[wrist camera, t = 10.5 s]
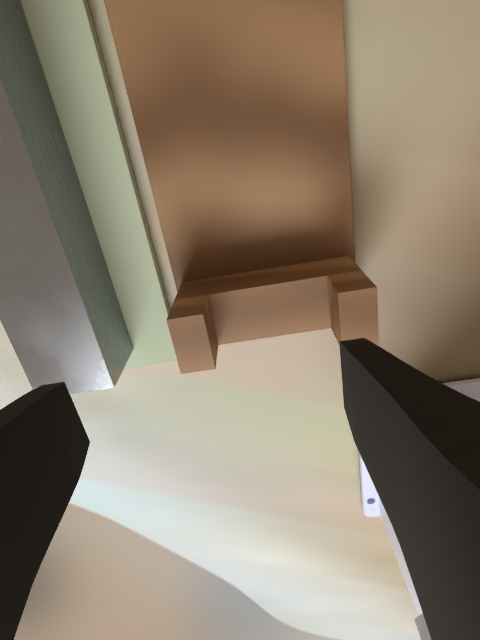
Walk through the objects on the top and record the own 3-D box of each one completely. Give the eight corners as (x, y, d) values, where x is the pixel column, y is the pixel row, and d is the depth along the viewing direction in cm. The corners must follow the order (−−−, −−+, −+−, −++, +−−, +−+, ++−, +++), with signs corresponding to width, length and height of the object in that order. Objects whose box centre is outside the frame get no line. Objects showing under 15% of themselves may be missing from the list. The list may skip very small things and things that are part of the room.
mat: (181, 354, 21) (180, 360, 21) (39, 375, 22) (34, 381, 21) (41, -172, 13) (32, -186, 12) (-181, -116, 13) (-199, -126, 13)
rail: (133, 348, 20) (113, 387, 17) (69, 358, 21) (37, 398, 17) (-22, -129, 13) (-108, -216, 10) (-120, -104, 13) (-235, -181, 10)
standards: (353, 311, 20) (386, 361, 15) (192, 335, 21) (178, 391, 16) (325, -198, 13) (373, -387, 8) (75, -136, 13) (-12, -279, 9)
